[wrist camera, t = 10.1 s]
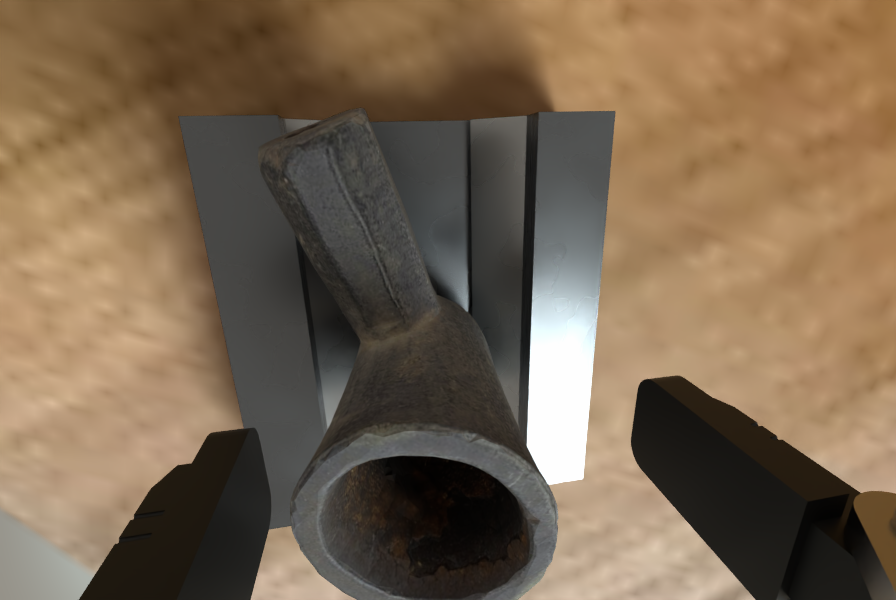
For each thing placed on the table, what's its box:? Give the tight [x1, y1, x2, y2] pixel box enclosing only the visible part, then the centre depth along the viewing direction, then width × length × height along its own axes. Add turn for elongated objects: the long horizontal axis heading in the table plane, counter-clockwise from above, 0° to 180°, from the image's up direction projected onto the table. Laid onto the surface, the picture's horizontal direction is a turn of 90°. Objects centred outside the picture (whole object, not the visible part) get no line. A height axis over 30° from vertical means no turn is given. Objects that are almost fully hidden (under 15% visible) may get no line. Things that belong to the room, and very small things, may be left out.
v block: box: [178, 111, 615, 529], centre depth 16 cm, size 14×12×4 cm
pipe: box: [258, 108, 558, 600], centre depth 12 cm, size 6×13×8 cm, turn 20°
